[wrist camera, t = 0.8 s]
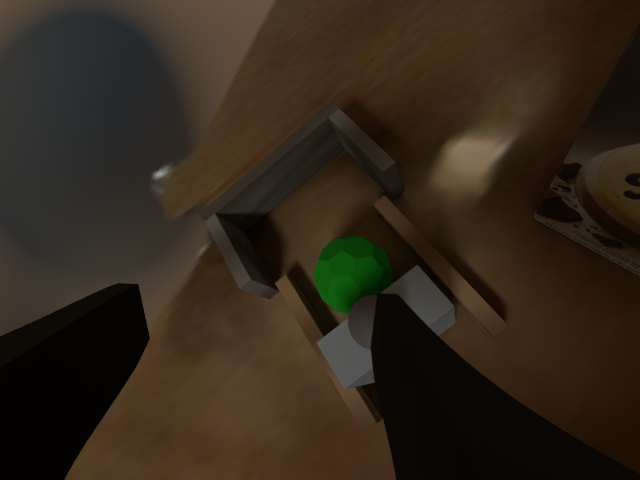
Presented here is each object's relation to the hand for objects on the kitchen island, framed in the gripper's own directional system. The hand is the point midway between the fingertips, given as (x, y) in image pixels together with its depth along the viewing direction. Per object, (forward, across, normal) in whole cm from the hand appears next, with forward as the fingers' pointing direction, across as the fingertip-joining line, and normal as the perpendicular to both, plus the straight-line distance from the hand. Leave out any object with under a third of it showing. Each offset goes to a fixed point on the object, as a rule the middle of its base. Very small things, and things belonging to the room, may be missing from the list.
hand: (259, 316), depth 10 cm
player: (+8, -7, +8) cm, 14 cm away
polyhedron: (+12, -5, +6) cm, 14 cm away
